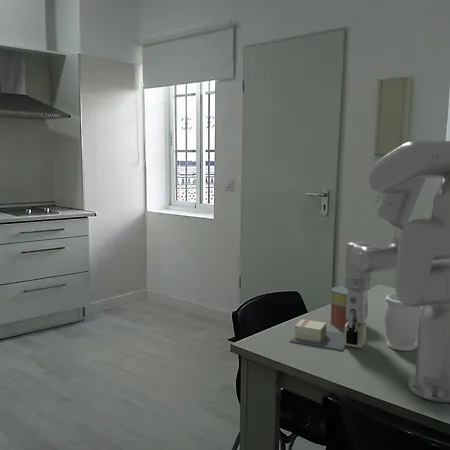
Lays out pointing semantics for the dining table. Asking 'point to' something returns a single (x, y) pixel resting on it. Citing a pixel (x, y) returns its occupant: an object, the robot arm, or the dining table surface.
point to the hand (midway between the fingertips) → (355, 338)
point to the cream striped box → (310, 330)
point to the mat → (325, 341)
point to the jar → (401, 324)
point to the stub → (361, 335)
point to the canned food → (338, 307)
